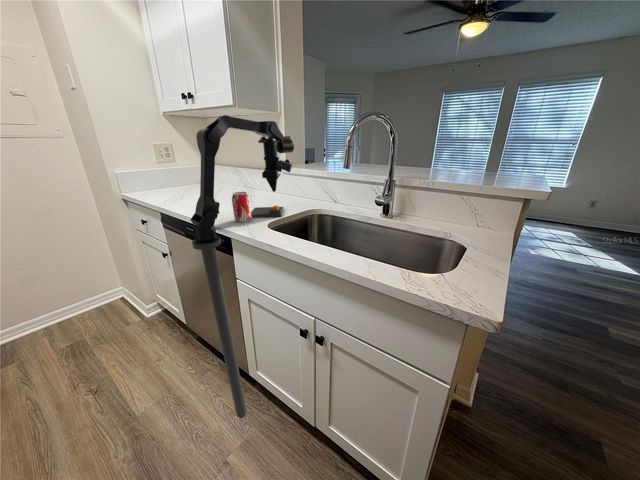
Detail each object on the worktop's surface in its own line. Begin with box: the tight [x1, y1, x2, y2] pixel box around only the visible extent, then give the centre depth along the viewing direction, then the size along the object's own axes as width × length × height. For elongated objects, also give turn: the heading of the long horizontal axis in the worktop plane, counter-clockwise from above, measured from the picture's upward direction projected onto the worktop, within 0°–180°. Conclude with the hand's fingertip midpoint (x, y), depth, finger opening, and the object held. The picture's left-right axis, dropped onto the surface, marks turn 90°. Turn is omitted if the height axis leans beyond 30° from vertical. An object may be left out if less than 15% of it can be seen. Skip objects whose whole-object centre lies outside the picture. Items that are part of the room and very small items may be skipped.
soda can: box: [231, 191, 252, 223], centre depth 110 cm, size 7×7×12 cm
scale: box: [251, 206, 285, 219], centre depth 121 cm, size 14×12×3 cm
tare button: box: [272, 205, 280, 210], centre depth 117 cm, size 3×3×2 cm
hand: (274, 191), depth 114 cm, fingers closed
